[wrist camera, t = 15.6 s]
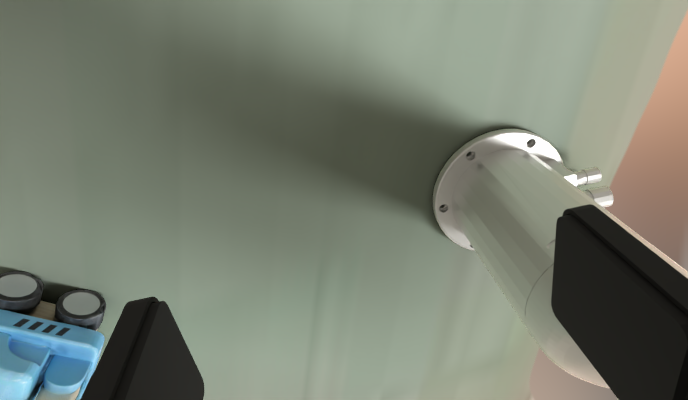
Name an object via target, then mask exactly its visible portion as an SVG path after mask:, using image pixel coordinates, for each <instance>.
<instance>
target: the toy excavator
mask: <svg viewBox="0 0 688 400" xmlns="http://www.w3.org/2000/svg"><path fill="white" fill-rule="evenodd" d="M43 288H44V285H43V283H42V281H41V280H40V279H36V278H35V277H33V276H32V275H31V274H30V273H28V272H19V271H12V272H6V273H3V274H0V400H34V399H35V397H36V395H37V393H38V396H37V398H36V400H78V399H81V397H82V395H83V393H84V391H85V389H86V387H87V384H88V382H89V380H90V378H91V376H92V375H93V373H94V371H95V368H96V365H97V362H98V359H99V356H100V353H101V350H102V347H103V343H104V336H103V334H101V333H100V332H98V331H97V329H98V328H99V327H100V325H101V323H102V321H103V317H104V313H105V309H106V303H105V300H104V298H103V297H102V296H101V295H100V294H98V293H95V292H93V291H90V290H80V289H78V290H74V291H70V292H66V293H64V294H63V295H62V296H60V297H59V298H58V301H57V303H56V304H53V303H48V302H44V301H41V297H42V293H43Z"/></svg>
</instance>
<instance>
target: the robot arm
mask: <svg viewBox="0 0 688 400" xmlns="http://www.w3.org/2000/svg"><path fill="white" fill-rule="evenodd" d="M468 152H469V154H467V153H468ZM466 154H467V155H466ZM601 178H602V177H601V172H600V170H599V169H598V168H597V167H593V168H588V169H583V170H581V171H577V172H573V171H571V170H568V169H567V168H566V167H564V164H563V161H562V158H561V156H560V155H559V153H558V151H557V150H556V149H555V148H554V147H553V146H552V145H551V144H550V143H549V142H548V141H547V140H545V139H544V138H542V137H540V136H539V135H537V134H534V133H532V132H530V131H526V130H520V129H501V130H496V131H491V132H488V133H486V134H483V135H481V136H478V137H476V138H474V139H473V140H471V141H469V142H468V143H466V144H465V145H463V146H462V147H461V148H460V149H459V150H457V151H456V152H455V153H454V154H453V155H452V156H451V158H450V159H449V160H448V161H447V162H446V164H445V165H444V167H443V169H442V170H441V172H440V174H439V176H438V178H437V181H436V184H435V186H434V192H433V210H434V214H435V218H436V220H437V222H438V224H439V226H440V228H441V229H442V231H443V232H444V233H445V235H446V236H447V237H448V238H449V239H450V240H451V241H453V242H454V243H456V244H457V245H459V246H461V247H463V248H466V249H469V250H472V251H476V253H477V254H478V256H479V257H480V259H481V260H482V262H483V263H484V265H485V266H486V268H487V269H488V271H489V272H490V274H491V275H492V277H493V278H494V280H495V281H496V283H497V284H498V286H499V287H500V289H501V290H502V292H503V294H504V295H505V297H506V298H507V300H508V301H509V303H510V304H511V306H512V307H513V309H514V310H515V312H516V313H517V315H518V316H519V318H520V319H521V321H522V322H523V324H524V325H525V327H526V328H527V330H528V331H529V333H530V334H531V335H532V337H533V338H534V340H535V341H536V343H537V344H538V346H539V347H540V349H541V350H542V351H543V352H544V353H545V355H546V356H547V357H548V358H549V359H550V360H551V361H552V362H553V363H554V364H556V365H557V366H558V367H560V368H561V369H563V370H564V371H566V372H567V373H569V374H571V375H573V376H575V377H577V378H579V379H581V380H584V381H586V382H589V383H592V384H595V385H598V386H602V387H605V388H609V389H611V390H612V391H613V393H614V394H615V395H616V397H617V398H618V399H617V400H688V271H687V270H685V269H684V268H682V267H681V266H680V265H678V264H677V263H676V262H674V261H673V260H672V259H670V258H669V257H668V256H666V255H665V254H664V253H662V252H661V251H660V250H658V249H657V248H656V247H655V246H653V245H652V244H650V243H649V242H647V241H646V240H645V239H643V238H642V237H641V236H640V235H638V234H637V233H636V232H634V231H633V230H632V229H630V228H629V227H628V226H626V225H625V224H624V223H623V222H621V221H620V220H619V219H617V218H616V217H615V216H614V215H612V214H611V213H609V212H608V211H607V210H606V209H604V207H608V206H611V205H612V203H613V194H612V192H611V190H610V189H609V188H608V187H606V186H602V187H597V188H592V189H588V190H585V191H583V192H582V191H581V190H580V189H579V188H577V187H576V186H578V185H583V184H584V185H587V184H591V183H596V182H599V181H601ZM203 397H204V383H203V379H202V377H201V374H200V372H199V370H198V368H197V366H196V364H195V362H194V360H193V358H192V356H191V353H190V351H189V349H188V347H187V345H186V343H185V341H184V339H183V337H182V334H181V332H180V330H179V328H178V326H177V324H176V322H175V320H174V318H173V316H172V313H171V311H170V309H169V307H168V305H167V304H166V302H164V301H160V302H159V301H158V299H157V298H155V297H149V298H144V299H140V300H135V301H130V302H128V303H127V304H126V305H125V307H124V309H123V311H122V314H121V316H120V318H119V320H118V322H117V324H116V327H115V329H114V331H113V333H112V335H111V337H110V340H109V342H108V344H107V346H106V348H105V350H104V353H103V355H102V357H101V359H100V361H99V363H98V366H97V368H96V370H95V371H94V373H93V375H92V376H91V378H90V380H89V382H88V384H87V387H86V389H85V391H84V393H83V395H82V397H81V399H80V400H203Z"/></svg>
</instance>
